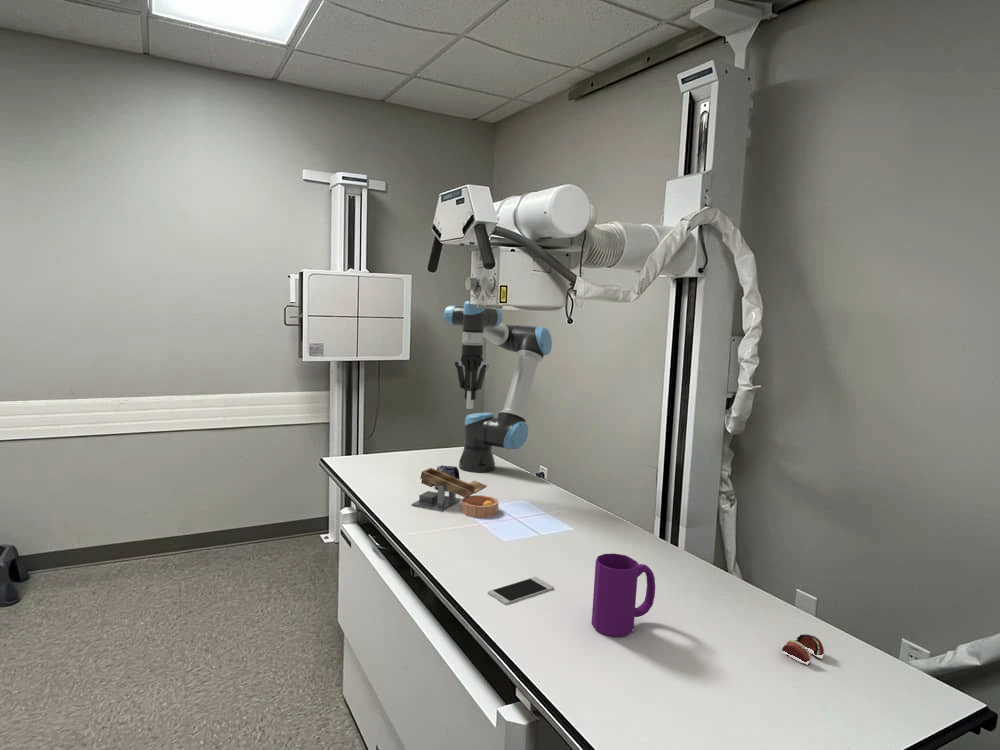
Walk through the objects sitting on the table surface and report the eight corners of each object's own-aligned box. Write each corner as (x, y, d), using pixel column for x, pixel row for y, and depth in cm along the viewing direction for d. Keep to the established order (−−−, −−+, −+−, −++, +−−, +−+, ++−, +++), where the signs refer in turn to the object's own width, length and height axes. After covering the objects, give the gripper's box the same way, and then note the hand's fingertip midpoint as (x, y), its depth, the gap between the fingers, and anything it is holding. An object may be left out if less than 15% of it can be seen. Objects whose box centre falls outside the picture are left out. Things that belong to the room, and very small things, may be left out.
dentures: (780, 635, 129) (803, 627, 133) (777, 654, 130) (800, 645, 134) (806, 650, 125) (828, 640, 129) (803, 669, 125) (825, 659, 129)
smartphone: (554, 590, 155) (554, 586, 155) (505, 606, 145) (505, 602, 145) (535, 579, 160) (535, 576, 160) (486, 594, 151) (486, 591, 151)
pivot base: (411, 505, 212) (412, 483, 211) (432, 495, 225) (433, 473, 224) (441, 511, 208) (442, 488, 207) (461, 500, 220) (461, 478, 220)
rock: (461, 485, 230) (451, 460, 231) (436, 496, 231) (425, 471, 232) (467, 483, 241) (456, 459, 242) (442, 494, 241) (432, 470, 243)
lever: (418, 483, 215) (421, 471, 214) (440, 472, 229) (443, 462, 228) (465, 503, 208) (468, 491, 207) (485, 491, 222) (488, 480, 221)
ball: (484, 508, 211) (486, 498, 211) (494, 511, 210) (495, 500, 209) (480, 511, 208) (481, 500, 207) (490, 514, 206) (491, 503, 206)
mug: (582, 621, 139) (587, 556, 138) (637, 608, 147) (642, 546, 145) (608, 641, 131) (613, 572, 130) (665, 627, 138) (670, 561, 137)
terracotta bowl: (471, 503, 218) (471, 493, 217) (503, 509, 213) (503, 499, 213) (455, 513, 207) (455, 502, 206) (488, 519, 202) (488, 509, 202)
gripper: (451, 343, 227) (449, 407, 230) (484, 345, 222) (481, 411, 225) (461, 342, 234) (458, 405, 237) (493, 344, 229) (490, 409, 232)
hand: (469, 408), depth 231 cm, fingers closed
